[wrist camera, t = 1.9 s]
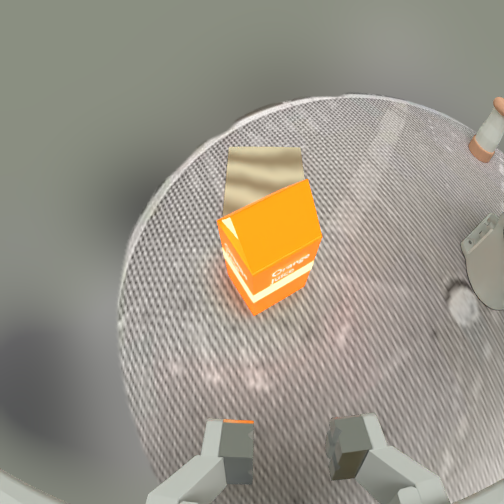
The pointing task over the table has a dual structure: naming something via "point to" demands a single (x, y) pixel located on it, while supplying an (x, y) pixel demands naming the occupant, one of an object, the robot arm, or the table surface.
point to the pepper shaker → (489, 133)
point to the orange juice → (271, 245)
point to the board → (259, 174)
